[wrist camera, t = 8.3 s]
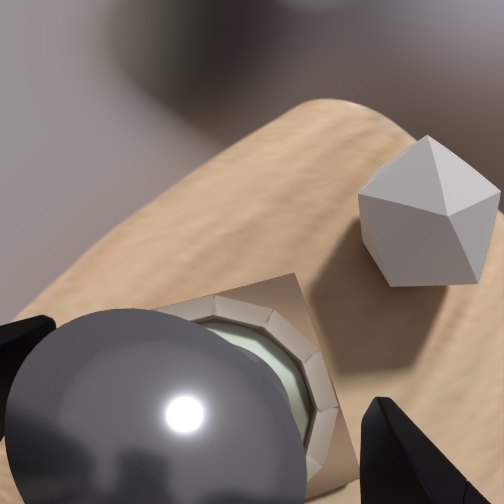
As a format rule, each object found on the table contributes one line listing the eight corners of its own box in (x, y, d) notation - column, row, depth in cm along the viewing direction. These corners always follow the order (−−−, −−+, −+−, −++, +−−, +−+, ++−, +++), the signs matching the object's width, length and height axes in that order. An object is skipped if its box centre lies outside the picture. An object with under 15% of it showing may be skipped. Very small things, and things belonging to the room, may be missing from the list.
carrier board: (354, 472, 14) (367, 480, 12) (145, 521, 12) (135, 533, 10) (291, 280, 18) (296, 266, 17) (94, 329, 17) (79, 321, 15)
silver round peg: (303, 458, 13) (433, 570, 2) (166, 489, 12) (38, 614, 1) (263, 330, 16) (306, 179, 5) (131, 362, 15) (-49, 279, 4)
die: (370, 334, 18) (525, 303, 11) (298, 209, 16) (472, 129, 9) (401, 261, 23) (513, 227, 16) (350, 164, 22) (466, 107, 14)
